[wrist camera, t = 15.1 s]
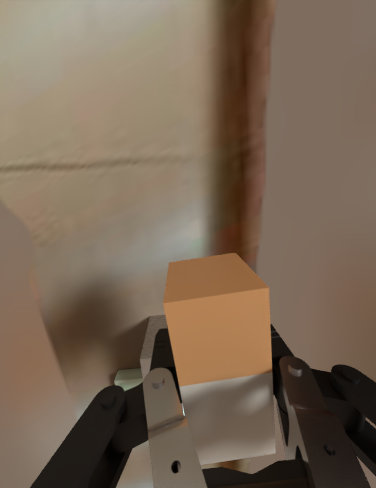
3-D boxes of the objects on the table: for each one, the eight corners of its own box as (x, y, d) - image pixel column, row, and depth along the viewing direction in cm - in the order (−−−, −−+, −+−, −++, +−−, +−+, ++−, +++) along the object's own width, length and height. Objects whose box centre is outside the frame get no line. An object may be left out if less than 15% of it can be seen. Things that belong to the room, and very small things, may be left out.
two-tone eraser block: (245, 372, 14) (275, 453, 10) (189, 380, 14) (194, 465, 9) (235, 252, 12) (268, 287, 7) (169, 262, 12) (163, 303, 7)
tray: (170, 422, 33) (169, 434, 32) (129, 426, 33) (126, 439, 31) (163, 365, 30) (162, 376, 28) (118, 370, 30) (114, 380, 28)
